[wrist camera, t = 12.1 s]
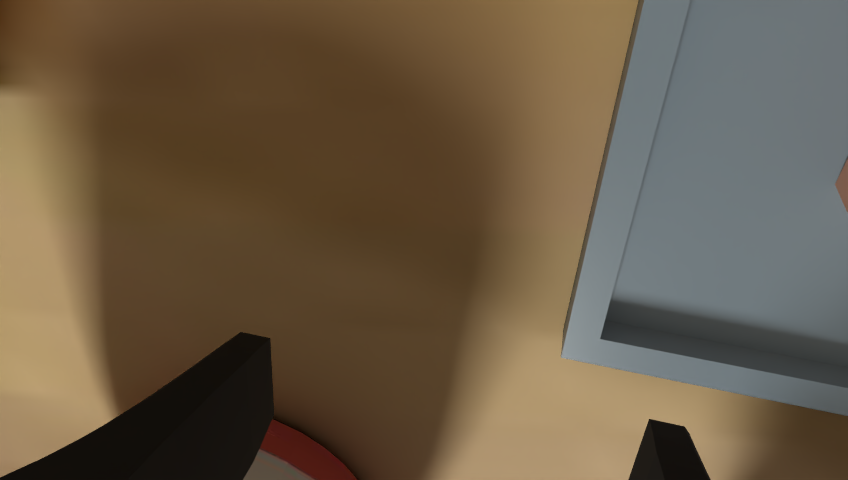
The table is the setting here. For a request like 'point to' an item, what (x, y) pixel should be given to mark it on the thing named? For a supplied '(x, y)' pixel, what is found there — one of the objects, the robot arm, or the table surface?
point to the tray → (724, 204)
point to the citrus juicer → (294, 458)
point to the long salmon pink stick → (843, 185)
